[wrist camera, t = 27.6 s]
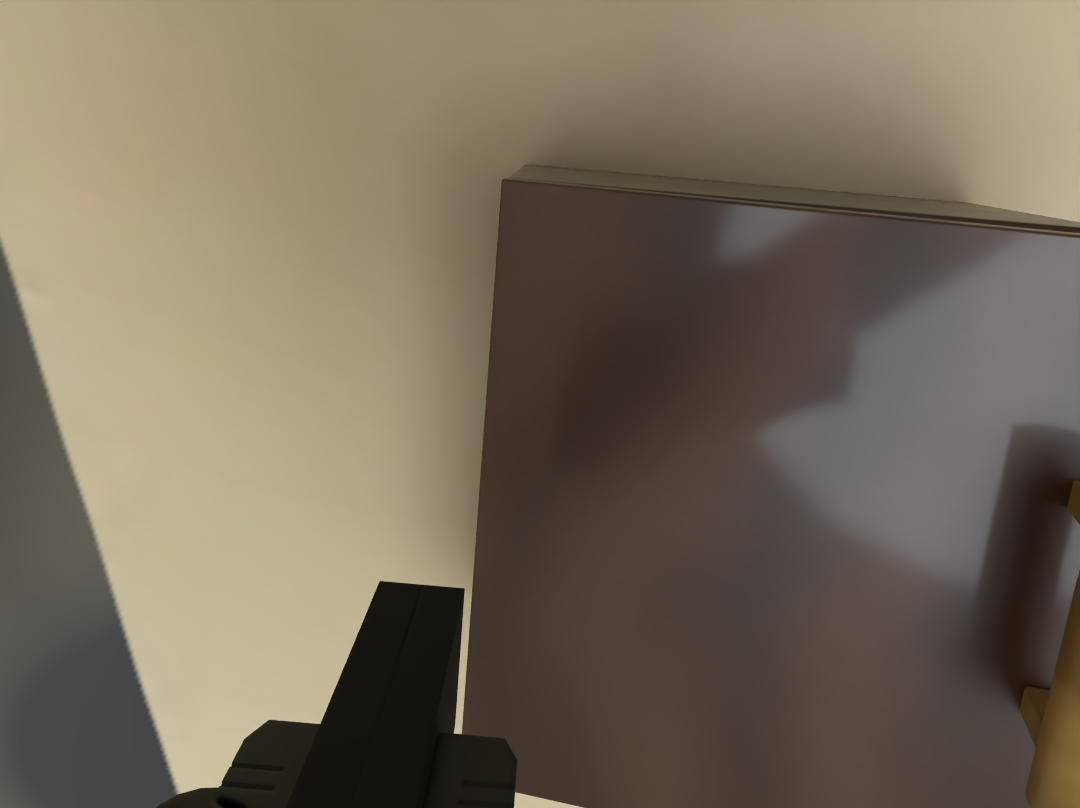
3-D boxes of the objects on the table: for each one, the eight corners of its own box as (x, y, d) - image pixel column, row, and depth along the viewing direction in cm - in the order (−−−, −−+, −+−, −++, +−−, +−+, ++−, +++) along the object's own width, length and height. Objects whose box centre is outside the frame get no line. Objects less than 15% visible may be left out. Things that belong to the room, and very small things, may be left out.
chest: (971, 203, 33) (1136, 232, 24) (887, 634, 38) (999, 808, 28) (524, 164, 33) (507, 176, 24) (490, 599, 38) (464, 760, 28)
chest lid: (1251, 249, 21) (1396, 280, 16) (1076, 896, 25) (1148, 1078, 20) (510, 177, 24) (440, 184, 19) (467, 762, 28) (400, 891, 23)
